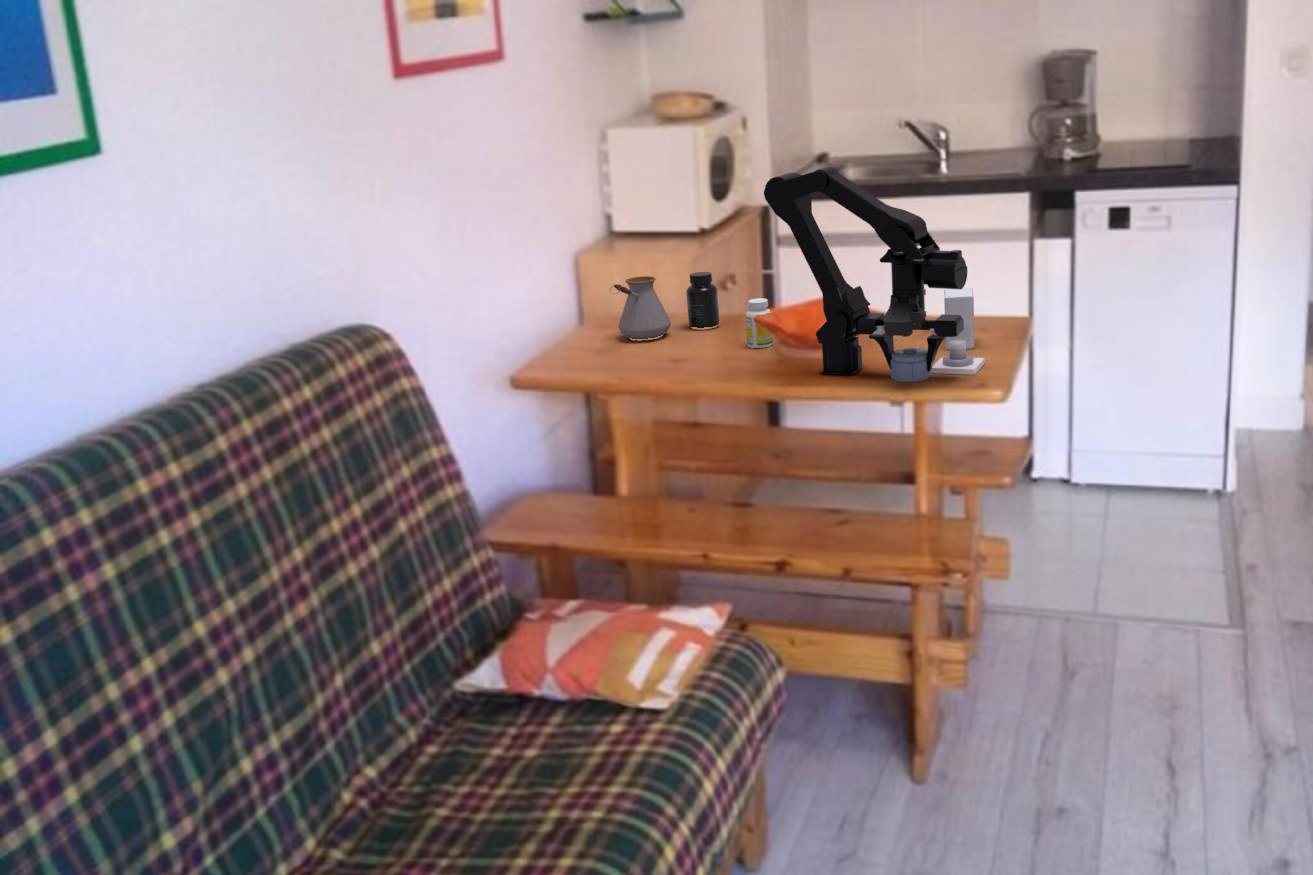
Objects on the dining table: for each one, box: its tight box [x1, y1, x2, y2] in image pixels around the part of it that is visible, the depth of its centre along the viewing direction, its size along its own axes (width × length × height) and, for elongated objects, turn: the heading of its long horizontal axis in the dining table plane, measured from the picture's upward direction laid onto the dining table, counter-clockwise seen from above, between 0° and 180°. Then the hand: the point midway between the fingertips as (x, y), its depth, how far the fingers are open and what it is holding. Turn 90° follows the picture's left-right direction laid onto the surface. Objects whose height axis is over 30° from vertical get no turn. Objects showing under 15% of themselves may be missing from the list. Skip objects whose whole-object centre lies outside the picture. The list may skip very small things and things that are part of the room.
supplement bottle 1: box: [686, 271, 721, 328], centre depth 302 cm, size 7×7×12 cm
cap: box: [890, 347, 931, 383], centre depth 251 cm, size 7×7×5 cm
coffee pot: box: [609, 275, 672, 339], centre depth 293 cm, size 21×12×15 cm, turn 160°
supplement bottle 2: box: [745, 298, 774, 349], centre depth 282 cm, size 5×5×10 cm
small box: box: [943, 287, 975, 351], centre depth 269 cm, size 8×6×10 cm
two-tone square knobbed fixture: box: [930, 340, 986, 376], centre depth 254 cm, size 8×8×5 cm
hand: (910, 370), depth 252 cm, fingers closed on cap, 7 cm apart
